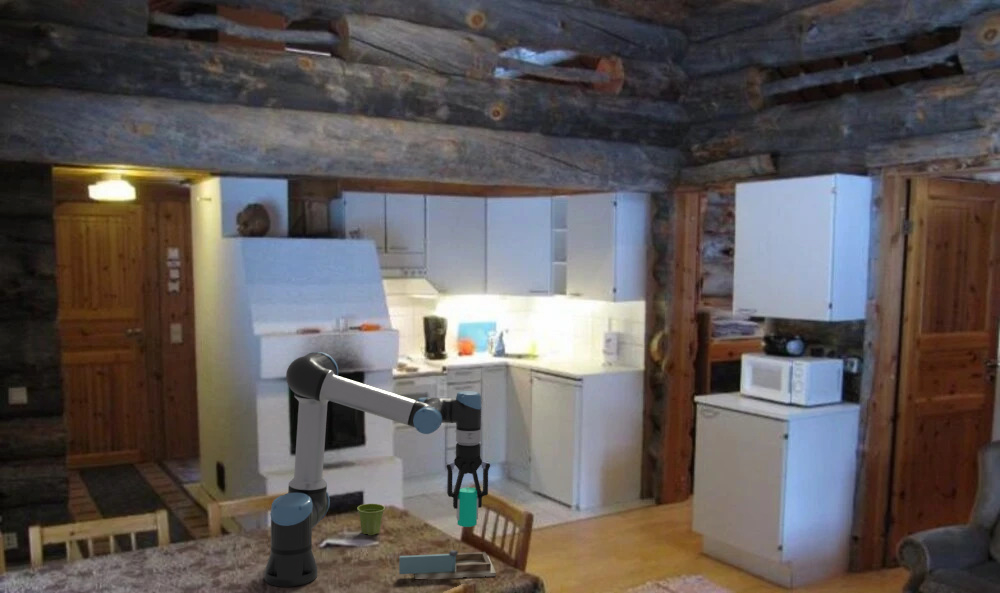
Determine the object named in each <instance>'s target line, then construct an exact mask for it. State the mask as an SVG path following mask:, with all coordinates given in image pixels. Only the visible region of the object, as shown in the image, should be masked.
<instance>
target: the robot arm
mask: <svg viewBox="0 0 1000 593" xmlns="http://www.w3.org/2000/svg"><path fill="white" fill-rule="evenodd" d="M285 377H286V378H285V380H286V384H287V386H288V387H289V389H290V390H291V391H292V393H294V396H293V397H294V398H295V399H296V400H297V401H298V412H297V426H296V428H297V429H296V443H295V444H296V445H295V460H294V472H293V474H294V475H293V476H294V477H293V479H291V480H289V482H288V491H287V493H285V494H282V495H279V496H277V497H276V498H275V499H273V501H272V503H271V509H270V554H269V556H268V560H267V562H266V566H265V568H264V581H265V583H267V584H268V585H271V586H275V587H285V588H287V587H288V588H289V587H296V586H302V585H305V584H309V583H310V582H313V581H314V580H316V579H317V577H318V565H317V561H316V559H315V556H314V552H313V548H312V547H313V546H312V543H313V542H312V539H313V537H312V536H313V535H312V534H313V533H312V532H313V529H314V528H315V527H316V525H318V524H319V523H320V522H321V521H322V520H323V519H324V518H325V516H326V515H327V512H328V510H329V508H330V505H331V504H330V496H329V493H328V491H327V490H328V483H327V481H326V480H325V479H324V478H323V476H324V462H325V461H324V458H325V446H326V445H325V443H326V429H327V426H326V425H327V417H328V416H327V412H328V402H332V403H336V404H339V405H342V406H345V407H348V408H350V409H354V410H358V411H361V412H364V413H368V414H371V415H374V416H377V417H380V418H383V419H387V420H389V421H392V422H393V421H394V422H396V423H400V424H403V425H406V426H409V427H412V428H415V430H416V431H417V432H418V433H420V434H422V435H429V434H432V433H434V432H436V431H438V429H439V428H440V427H441V425H442V423H443V424H447V423H448V424H455V425H456V426H455V429H456V431H455V442H457V443H456V444H455V458H454V460H453V461H452V462H446V463H445V467H446V469H447V484H446V485H447V487H446V488H447V489H446V491H447V492H446V494H447V496H448V497H449V498H452V506H453V509H454V510H455V509H456V510H455V511H456V513H455V514H456V515H455V518H456V520H457V521H458V520H459V506H460V499H459V498H458V495H459V491H460V489H461V486H462V483H463V480H464V477H465V475H467V474H471V475H472V479H473V482H474V488H475V489H476V490H477V517H476V519H477V520H479V509H481V508H482V505H483V501H482V500H483V497H485V496H488V495H489V470H490V468H491V464H490V462H489V461H485V460H482V457H481V452H482V450H481V446H482V444H481V442H482V440H481V439H482V436H481V435H482V434H481V433H482V430H481V429H482V397H481V394H480V393H479V392H477V391H474V390H466V391H464V390H463V391H458V392H457V393H456V396H455V397H451V398H449V397H431V396H428V397H419V398H418V399H417V400H416V399H413V398H410V397H407V396H404V395H400V394H397V393H394V392H391V391H388V390H385V389H381V388H378V387H375V386H372V385H368V384H365V383H362V382H359V381H356V380H354V379H353V380H352V379H349V378H346V377H343V376H339V366H338V364H337V362H336V360H335V359H334V358H333V357H332V356H331V355H330V354H328V353H326V352H321V351H317V352H314V351H313V352H309V353H307V354H306V355H303V356H300V357H297V358H295V359H294V360H293V361H291V363H290V364H289V365H288V366H287V370H286V375H285ZM455 467H456V468H457V470H458V474H457V477H456V482H455V485H454V490H453V471H454V468H455ZM480 467H481V468H482V490H481V485H480V480H479V476H478V473H477V472H478V469H479V468H480Z"/></svg>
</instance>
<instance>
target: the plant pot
mask: <svg viewBox="0 0 1000 593" xmlns="http://www.w3.org/2000/svg"><path fill="white" fill-rule="evenodd" d="M385 509H386V507H385V505H383V504H380V503H379V504H378V503H365V504H360V505H358V506H357V511H358V514H359V520H360V522H359V523H360V530H361V534H362V533H363V534H364V535H365V534H368V535H367V536H374V535H376V534H377V535H378V534H380V530H381V524H382V519H383V514H384V511H385Z"/></svg>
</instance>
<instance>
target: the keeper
mask: <svg viewBox="0 0 1000 593" xmlns="http://www.w3.org/2000/svg"><path fill="white" fill-rule="evenodd" d="M458 553H459V552H458V551H457V550H456V549H455V550H454V549H451V550H450V551H449V553H436V554H419V555H417V554H415V555H399V557H398V558H399V562H398V563H399V564H398V566H399V568H398V573H399V575H409V574H410V575H411V574H414V573H433V572H454V571H456V555H457V554H458Z"/></svg>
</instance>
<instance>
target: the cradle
mask: <svg viewBox="0 0 1000 593" xmlns="http://www.w3.org/2000/svg"><path fill="white" fill-rule="evenodd" d="M413 574H415V575H414V579H428V580H442V579H443V580H444V579H447V580H448V579H464V578H463V577H467V578H482V577H485V576H486V577H496V576H497V572H496V569H495V567H494V565H493V563H492V561H491V559H490V556H489V555H488V554H487V553H486V551H478V552H477V551H474V552H458V554H457V555H456V571H454V572H433V573H413Z"/></svg>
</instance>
